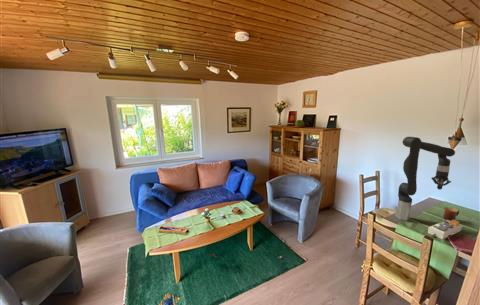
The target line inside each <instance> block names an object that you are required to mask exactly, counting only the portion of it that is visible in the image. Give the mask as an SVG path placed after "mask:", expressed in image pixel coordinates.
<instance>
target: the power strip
mask: <svg viewBox="0 0 480 305" xmlns="http://www.w3.org/2000/svg"><path fill="white" fill-rule="evenodd" d="M449 222H450V221H449V220H443V221H442V222H441V221H440V222H438V223H436V224H432V225H430V226H429V227H428V228H427V233H428V234H429V235H431V237H432V238H433V237H436V238H438V239H441V240H444V239H446V238H449V237H448V235H451V236H453V235H455V234H457V233H459V232H462V229H463V224H460V223H459V224H458V225H457V226H454V227H453V228H451V227H448V229H446V230H445V231H441V230H439V229H437V227H438V226H440V225H441V224H444V223H448V224H449Z"/></svg>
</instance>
